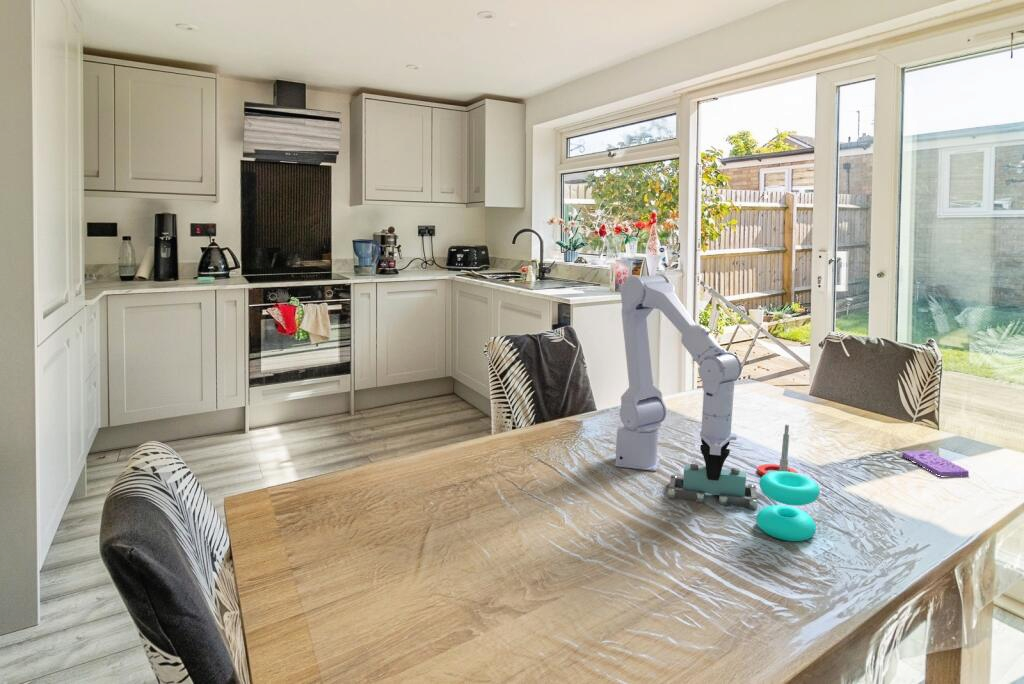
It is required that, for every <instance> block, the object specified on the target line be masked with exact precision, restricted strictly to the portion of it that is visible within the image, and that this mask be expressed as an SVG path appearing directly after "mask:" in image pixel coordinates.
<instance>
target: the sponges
mask: <svg viewBox="0 0 1024 684" xmlns="http://www.w3.org/2000/svg"><path fill="white" fill-rule="evenodd" d="M901 452H902V453H901V454H902V455H901V456H904V457H906V458H908V459H910V460H912V461H914V462H916V463H917V464H919V465H921V466H923V467H925V468H926V469H928V470H930V471H932V472H933V473H935V474H937V475H940V476H954V477H969V473H970V472H969V469H968V470H967V469H966V468H964V467H961V466H960V465H958V464H956V463H953V462H952V461H950V460H948V459H946V458H944V457H943V456H941V455H938V454H936V452H933V451H931V450H930V449H928V450H927V449H926V450H913V451H912V450H911V451H910V450H909V451H908V450H907V451H906V450H905V451H903V450H902V451H901ZM904 457H903V458H904ZM906 458H905V459H906ZM908 459H907V460H908ZM917 464H916V465H917ZM919 465H918V466H919ZM926 469H925V470H926ZM928 470H927V471H928ZM930 471H929V472H930ZM933 473H932V474H933ZM935 474H934V475H935ZM937 475H936V476H937ZM961 475H962V476H961ZM940 476H939V477H940Z"/></svg>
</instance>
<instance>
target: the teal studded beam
mask: <svg viewBox="0 0 1024 684" xmlns="http://www.w3.org/2000/svg"><path fill="white" fill-rule="evenodd" d="M683 468H684V469H683V478H684V479H683V487H682V488H684V489H692V490H699V491H704V493H705V495H706V494H707V495H715V496H716V495H717V496H719V495H720V493H723V494H731V495H738V496H746V495H745V485H747V484H746V480H747V475H746V471H744V470H740V468H737V467H732V468H731V469H725V468H722V470H721V474H720V477H719V480H718V481H716V480H708V478H707V474H706V466H700V465H699V464H698V463H690V465H689V464H684V467H683Z"/></svg>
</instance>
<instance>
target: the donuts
mask: <svg viewBox="0 0 1024 684" xmlns="http://www.w3.org/2000/svg"><path fill="white" fill-rule="evenodd" d="M768 472H769V473H767V474H765V475H763V476H762V475H761V478H760V480H759V482H758V483H759V489H760V490H761V492H762V493H763V494H764V496H765V497H768V498H769V499H770V500H772V501H775V502H777V503H780V504H771V505H768V506H765V507H763V508H761V509H760V510H759V511H758V512H757V515H756V523H757V526H758V527H759V528H760V529H761V530H762V532H764V533H765V534H767V535H769V536H771V537H773V538H776V539H779V540H783V541H789V542H802V541H806V540H809V539H811V538H812V537H813V536H814V535H815V533H816V532H817V531H816V530H817V526H816V522H815V520H814V519H813V517H811V516H810V514H808V513H806V512H805V511H803V510H801V509H799V508H797V507H794V506H806V505H809V504H811V503H815V501H816V500H818V498H819V497H820V496H819V495H820V487H819V484H817V482H815V480H813V479H812V478H810V477H808V476H806V475H803V474H801V473H798V474H797V473H793V472H786V471H777V470H776V471H768ZM783 504H784V505H783Z"/></svg>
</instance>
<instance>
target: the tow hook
mask: <svg viewBox="0 0 1024 684" xmlns="http://www.w3.org/2000/svg"><path fill="white" fill-rule="evenodd" d="M789 429H790V425H789V424H785V425H784V432H783V435H782V444H781V445H782V447H781V458H780V460H779V464H773V463H766V464H760V465H758V467H757V471H756V472H757V473H758V474H759V475H760V476H761V477H762V476H763V475H765V474H767V473H769V472H770V471H768V470H776V471H786V472H793V473H797V474H799V473H798V471H797V470H795V468H792V467H789V458H788V454H789V445H790V444H789V443H790V434H789Z"/></svg>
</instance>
